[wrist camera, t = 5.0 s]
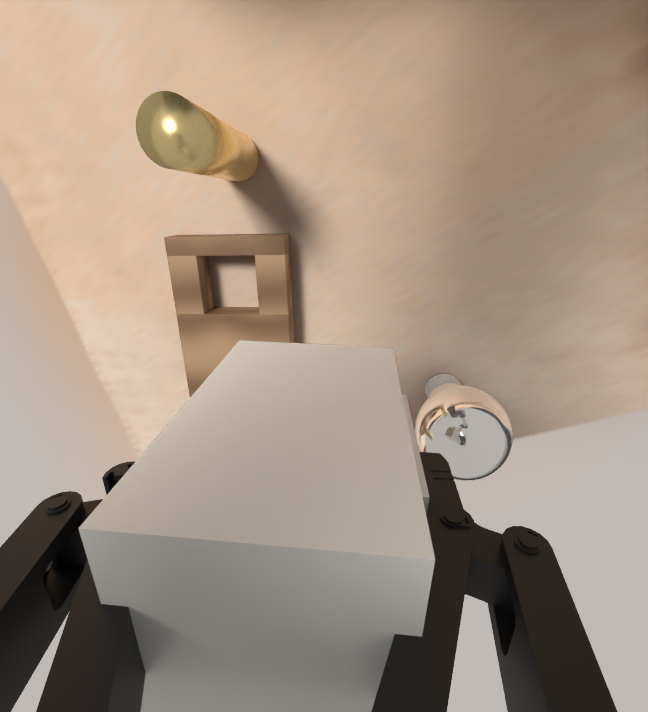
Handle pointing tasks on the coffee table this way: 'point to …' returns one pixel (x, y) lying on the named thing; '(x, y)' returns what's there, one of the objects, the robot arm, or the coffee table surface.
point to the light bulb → (463, 428)
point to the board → (228, 324)
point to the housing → (271, 535)
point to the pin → (193, 139)
